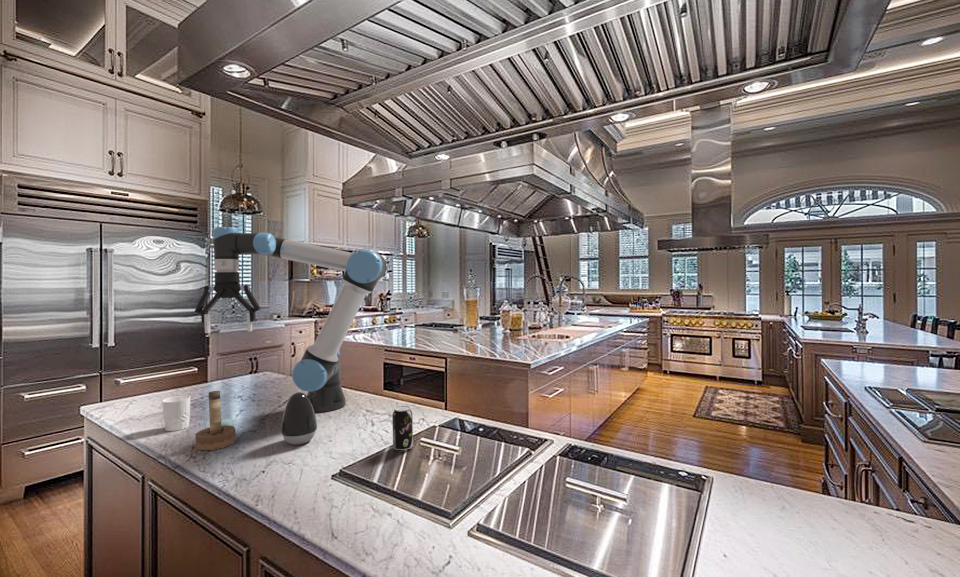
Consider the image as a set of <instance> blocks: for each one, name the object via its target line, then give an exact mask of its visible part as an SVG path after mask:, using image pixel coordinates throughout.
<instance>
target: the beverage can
mask: <svg viewBox="0 0 960 577" xmlns="http://www.w3.org/2000/svg"><path fill="white" fill-rule="evenodd" d="M391 419H392V447H393V450H396V451H397V450H407V449H409V450H410V449H412V448H413V446H414V434H413V433H414V432H413V431H414V429H413V427H414V426H413V424H414V423H413V422H414V421H413V412H412V410H411V407H410V406H408V405H399V406H396V407H394V410H393V412H392V418H391ZM407 451H408V450H407Z"/></svg>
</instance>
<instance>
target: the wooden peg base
mask: <svg viewBox="0 0 960 577" xmlns="http://www.w3.org/2000/svg"><path fill="white" fill-rule="evenodd" d="M221 429H222V432H220V433H215V434H210V427H207V428H203V429H201V430H199V431H197V432H196V433H195V434H194V436H195V448H196V450H197V451H201V450H210V451H215V450H214V449H217V450H220V449H219V448H221V449H224V448H223V447H225V448H227V447H229V446H231V445H230V444H232V443H233V442H234V441H235V442H236V428H235V426H234V425H233V426H229V425H222V426H221ZM235 442H234V443H235ZM234 443H233V444H234ZM233 444H232V445H233ZM228 445H229V446H228ZM226 446H227V447H226Z"/></svg>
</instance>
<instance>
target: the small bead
mask: <svg viewBox="0 0 960 577" xmlns="http://www.w3.org/2000/svg"><path fill="white" fill-rule="evenodd" d="M222 425H229V426H234V419H233V418H224V419H223V418H221V426H222Z"/></svg>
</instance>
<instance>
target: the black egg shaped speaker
mask: <svg viewBox="0 0 960 577" xmlns="http://www.w3.org/2000/svg"><path fill="white" fill-rule="evenodd" d="M314 395H315V392H312V393H310V394H309V395H307V394H305V393H304V392H299V391H298V392H295V393H293V394H292V395H291V396H290V397H289V399H288V400H287V402H286V405H285V408H284V410H283V414H282V419H281V426H280V433H281V435H282V437H283V439H284V441H285V442H286V443H287V444H290V445H294V446H298V445H305V444H306V443H309V442H310V441H311V440H312V439H313V438H314V436H315V434H316V431H317V429H318V423H317V416H316V412H314V409H313V406H312V404H311V402H310V400H309V399H310V398H311V397H313V396H314Z"/></svg>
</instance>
